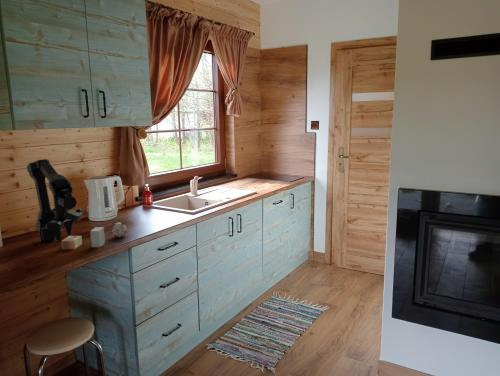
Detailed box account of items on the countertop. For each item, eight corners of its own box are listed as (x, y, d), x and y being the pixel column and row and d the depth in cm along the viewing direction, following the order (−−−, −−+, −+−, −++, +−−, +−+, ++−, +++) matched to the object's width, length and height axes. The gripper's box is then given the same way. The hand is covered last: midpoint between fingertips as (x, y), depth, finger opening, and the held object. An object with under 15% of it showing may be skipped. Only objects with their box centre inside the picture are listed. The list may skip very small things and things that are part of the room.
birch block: (61, 241, 192) (69, 235, 199) (62, 249, 192) (70, 243, 200) (73, 241, 191) (81, 235, 199) (74, 249, 192) (82, 243, 200)
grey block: (100, 247, 194) (98, 231, 193) (91, 247, 195) (90, 231, 193) (105, 242, 200) (103, 227, 199) (97, 242, 201) (95, 227, 199)
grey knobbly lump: (119, 242, 211) (119, 224, 216) (131, 238, 208) (132, 220, 212) (105, 239, 204) (106, 220, 208) (118, 234, 201) (119, 215, 205)
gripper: (68, 210, 176) (72, 245, 179) (87, 200, 195) (90, 232, 198) (43, 210, 177) (47, 245, 180) (64, 200, 195) (68, 232, 198)
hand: (64, 238), depth 189 cm, fingers open, 9 cm apart
